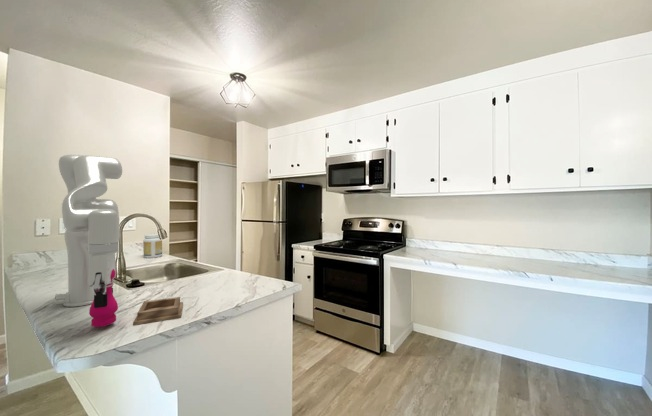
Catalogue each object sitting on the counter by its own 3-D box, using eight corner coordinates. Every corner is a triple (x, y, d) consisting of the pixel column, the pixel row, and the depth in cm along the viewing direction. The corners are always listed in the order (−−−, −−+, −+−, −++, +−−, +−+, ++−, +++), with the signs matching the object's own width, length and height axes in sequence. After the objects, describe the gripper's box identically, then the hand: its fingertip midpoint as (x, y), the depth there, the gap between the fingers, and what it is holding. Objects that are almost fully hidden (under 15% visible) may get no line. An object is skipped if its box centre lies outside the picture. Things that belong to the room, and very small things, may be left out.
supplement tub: (161, 254, 213) (160, 233, 213) (163, 257, 204) (163, 234, 204) (142, 256, 206) (142, 234, 205) (144, 259, 196) (144, 236, 196)
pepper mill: (101, 329, 84) (101, 265, 83) (83, 326, 85) (82, 263, 84) (123, 319, 91) (123, 260, 90) (106, 316, 92) (105, 259, 91)
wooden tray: (133, 325, 89) (133, 314, 89) (141, 310, 101) (141, 301, 101) (181, 317, 95) (180, 307, 95) (183, 304, 107) (183, 295, 107)
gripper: (97, 244, 93) (98, 296, 94) (77, 254, 78) (78, 315, 78) (124, 243, 96) (124, 293, 97) (110, 252, 81) (110, 311, 81)
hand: (103, 302), depth 88 cm, fingers closed on pepper mill, 5 cm apart
